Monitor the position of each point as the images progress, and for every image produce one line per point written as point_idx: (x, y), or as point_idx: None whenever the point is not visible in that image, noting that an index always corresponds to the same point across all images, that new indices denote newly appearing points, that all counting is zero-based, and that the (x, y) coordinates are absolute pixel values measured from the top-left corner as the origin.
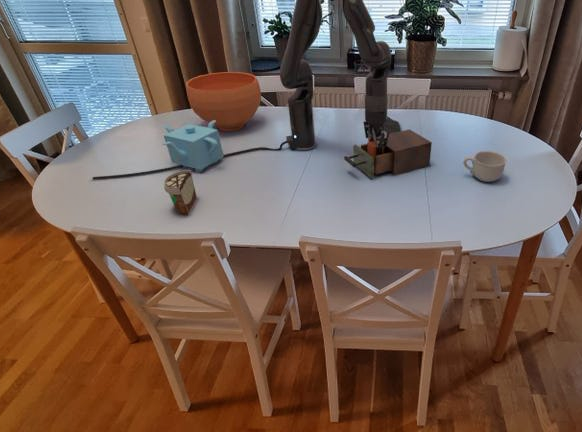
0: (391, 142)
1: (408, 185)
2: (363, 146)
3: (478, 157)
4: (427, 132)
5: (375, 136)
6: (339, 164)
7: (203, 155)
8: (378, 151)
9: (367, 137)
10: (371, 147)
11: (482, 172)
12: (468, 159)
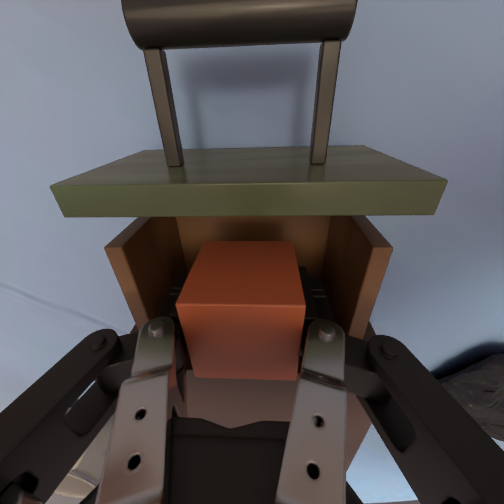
0: (246, 402)
1: (76, 268)
2: (363, 258)
3: (101, 466)
4: (384, 445)
5: (108, 446)
6: (446, 52)
7: None
8: (173, 299)
9: (368, 350)
10: (219, 287)
11: None
12: None
